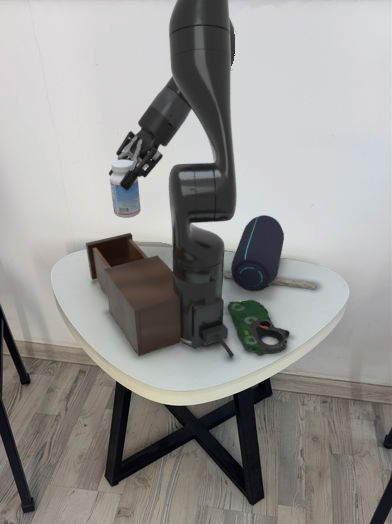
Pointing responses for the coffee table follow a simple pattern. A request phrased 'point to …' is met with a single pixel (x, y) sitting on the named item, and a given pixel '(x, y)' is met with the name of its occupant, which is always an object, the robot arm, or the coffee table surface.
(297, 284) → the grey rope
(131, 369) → the coffee table surface
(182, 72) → the robot arm
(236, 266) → the portable speaker
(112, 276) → the cabinet
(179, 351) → the coffee table surface
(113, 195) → the pill bottle
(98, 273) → the drawer
